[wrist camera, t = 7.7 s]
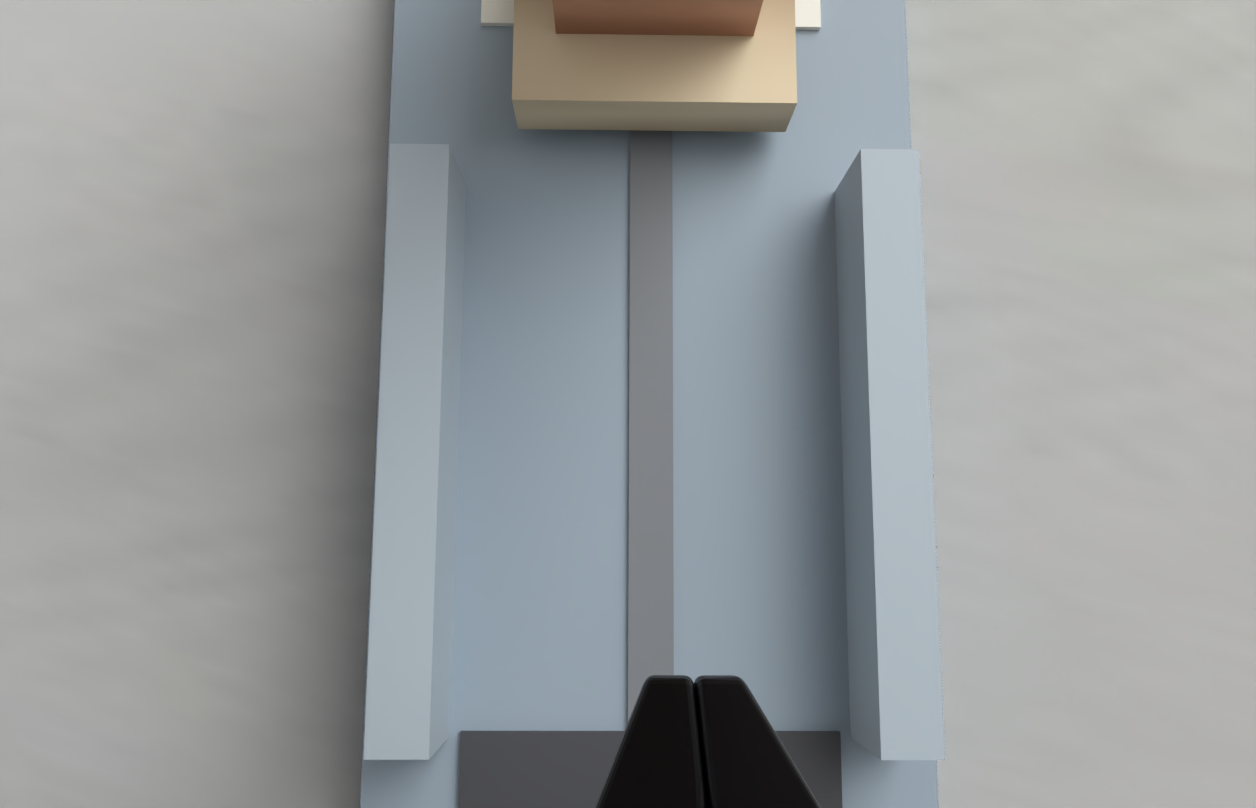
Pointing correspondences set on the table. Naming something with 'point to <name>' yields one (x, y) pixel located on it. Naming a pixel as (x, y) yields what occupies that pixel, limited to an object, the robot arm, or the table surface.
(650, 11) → the wooden block
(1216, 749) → the table surface
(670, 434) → the trough board
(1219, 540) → the table surface
